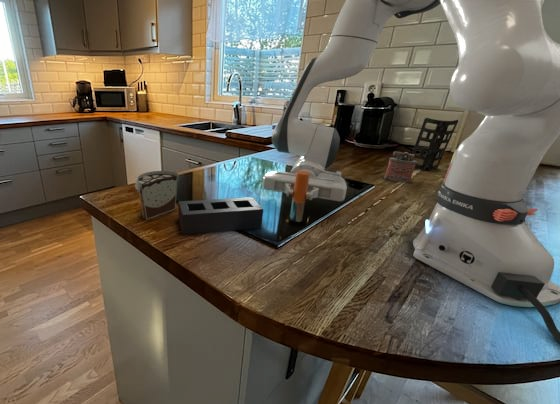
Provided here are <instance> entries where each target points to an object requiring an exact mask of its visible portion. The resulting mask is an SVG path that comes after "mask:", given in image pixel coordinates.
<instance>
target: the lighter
mask: <svg viewBox="0 0 560 404" xmlns="http://www.w3.org/2000/svg"><path fill="white" fill-rule="evenodd" d="M393 156H396V157H393ZM416 163H418V161H417V160H415V158H414V154H412V153H409V152H407V151H405V152H401V151H393V154H392V157H389V158H388V164H387V168H386V171H385V175H384V177H383V178H384V179H385V180H389V181H395V182H399V183H405V184H406V183H411V182H412V177H413V173H414V171H415V168H416V167H415V164H416Z"/></svg>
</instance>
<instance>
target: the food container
mask: <svg viewBox="0 0 560 404" xmlns="http://www.w3.org/2000/svg"><path fill="white" fill-rule="evenodd" d="M179 181H180V176H179V173H178V172H176V171H170V170H153V171H147V172H144V173H141V174H139V175H137V177H136V180H135V184H134V185H135V186H134V188H135V190H136V191H138V196H139V200H140V208H141V213H142V218H143V219H145V220H146V221H148V220H150V219H151V220H152V219H153V218H156V217H159V216H162V215H165V214H167V213H170V212H173V211H176V208H177V195H178V194H177V193H178V182H179Z"/></svg>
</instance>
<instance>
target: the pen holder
mask: <svg viewBox="0 0 560 404" xmlns="http://www.w3.org/2000/svg"><path fill="white" fill-rule="evenodd" d="M177 212H178V213H177V214H178V219H177V220H178V223H179V227H180V230H181V233H182V236H183V235H194V234H195V235H196V234H206V233H219V232H231V231H233V232H234V231H245V230H259V229H262V224H263V215H264V208H263V207H262V206H261V205H260V204H259V203H258V202H257V201H256V200H255V198H254V197H253V196H249V197H234V198H217V199H216V198H215V199H214V198H213V199H201V200H200V199H199V200H198V199H197V200H183V201H180V200H179V201H178V202H177Z"/></svg>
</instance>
